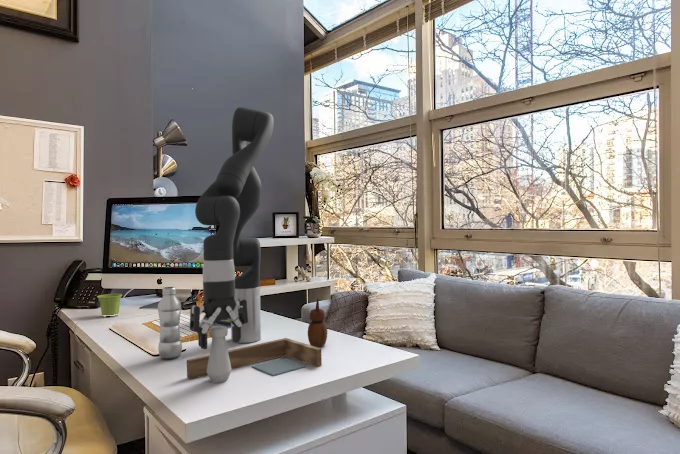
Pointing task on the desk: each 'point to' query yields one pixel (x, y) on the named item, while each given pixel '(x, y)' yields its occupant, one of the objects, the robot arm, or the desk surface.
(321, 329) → the wooden figurine
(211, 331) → the salt shaker
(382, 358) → the desk surface
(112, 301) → the plant pot
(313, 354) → the wooden l-shaped bracket
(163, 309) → the plastic bottle
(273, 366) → the pad
